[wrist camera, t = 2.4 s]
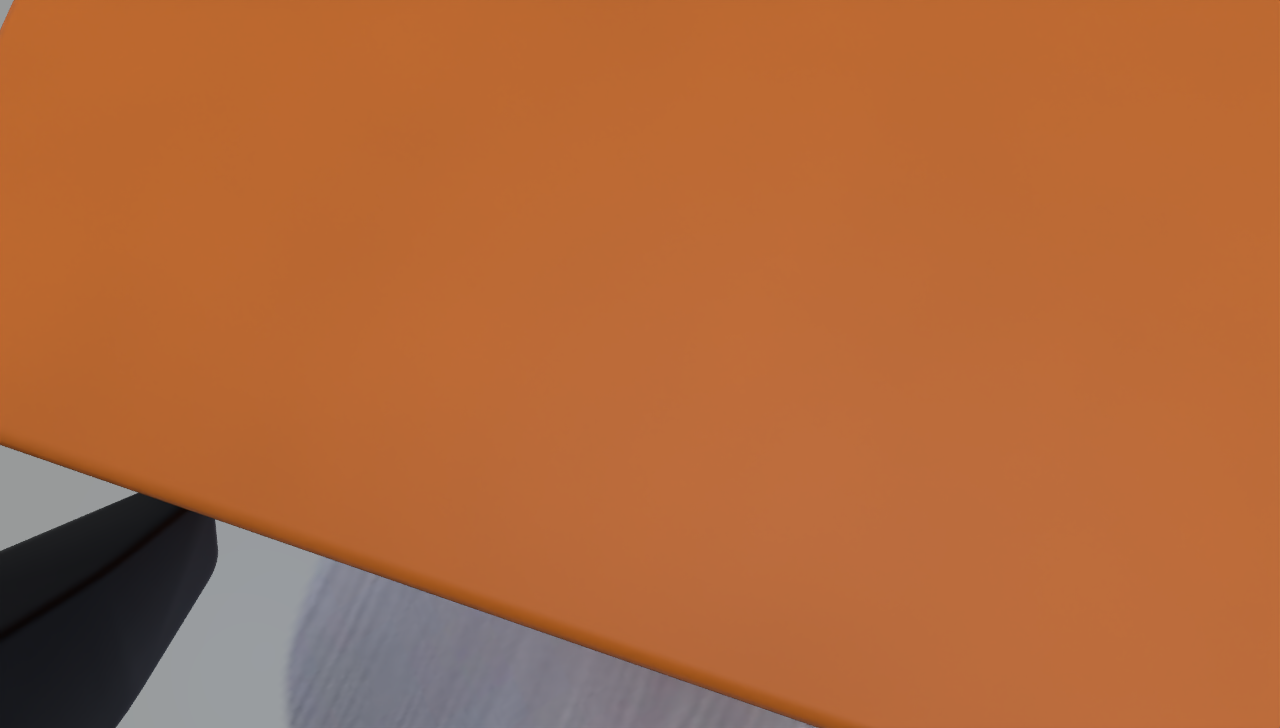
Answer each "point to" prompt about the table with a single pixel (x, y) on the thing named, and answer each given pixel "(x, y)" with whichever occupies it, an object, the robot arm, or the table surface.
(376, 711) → the table surface
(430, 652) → the table surface
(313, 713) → the table surface
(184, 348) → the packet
